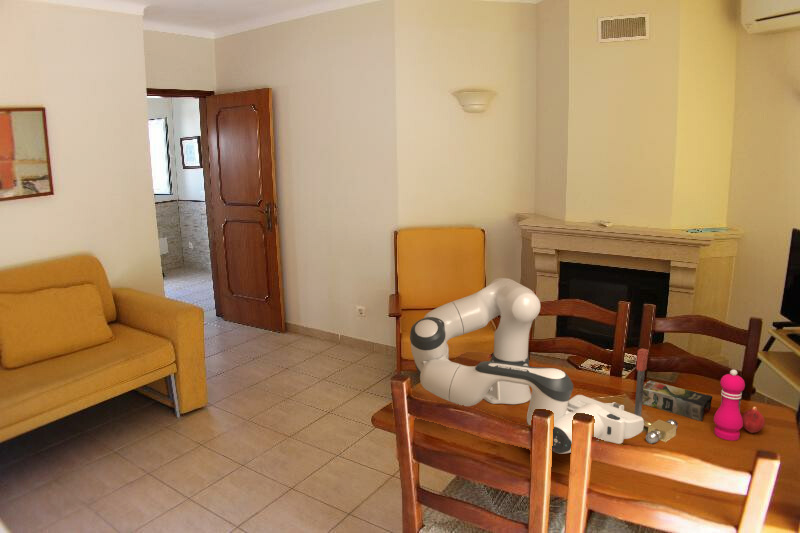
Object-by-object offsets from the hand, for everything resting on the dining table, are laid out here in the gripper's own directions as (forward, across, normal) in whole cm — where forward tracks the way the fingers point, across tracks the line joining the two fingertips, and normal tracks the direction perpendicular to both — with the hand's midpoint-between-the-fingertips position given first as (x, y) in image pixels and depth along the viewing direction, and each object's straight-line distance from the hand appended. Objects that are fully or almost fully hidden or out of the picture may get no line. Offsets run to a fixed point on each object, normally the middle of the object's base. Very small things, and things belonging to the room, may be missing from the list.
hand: (619, 406), depth 160 cm
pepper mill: (+25, +19, -10) cm, 33 cm away
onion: (+32, +23, -10) cm, 41 cm away
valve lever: (+11, 0, -9) cm, 15 cm away
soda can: (+37, +15, -10) cm, 42 cm away
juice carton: (+32, +1, -11) cm, 34 cm away
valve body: (+11, +5, -10) cm, 16 cm away
